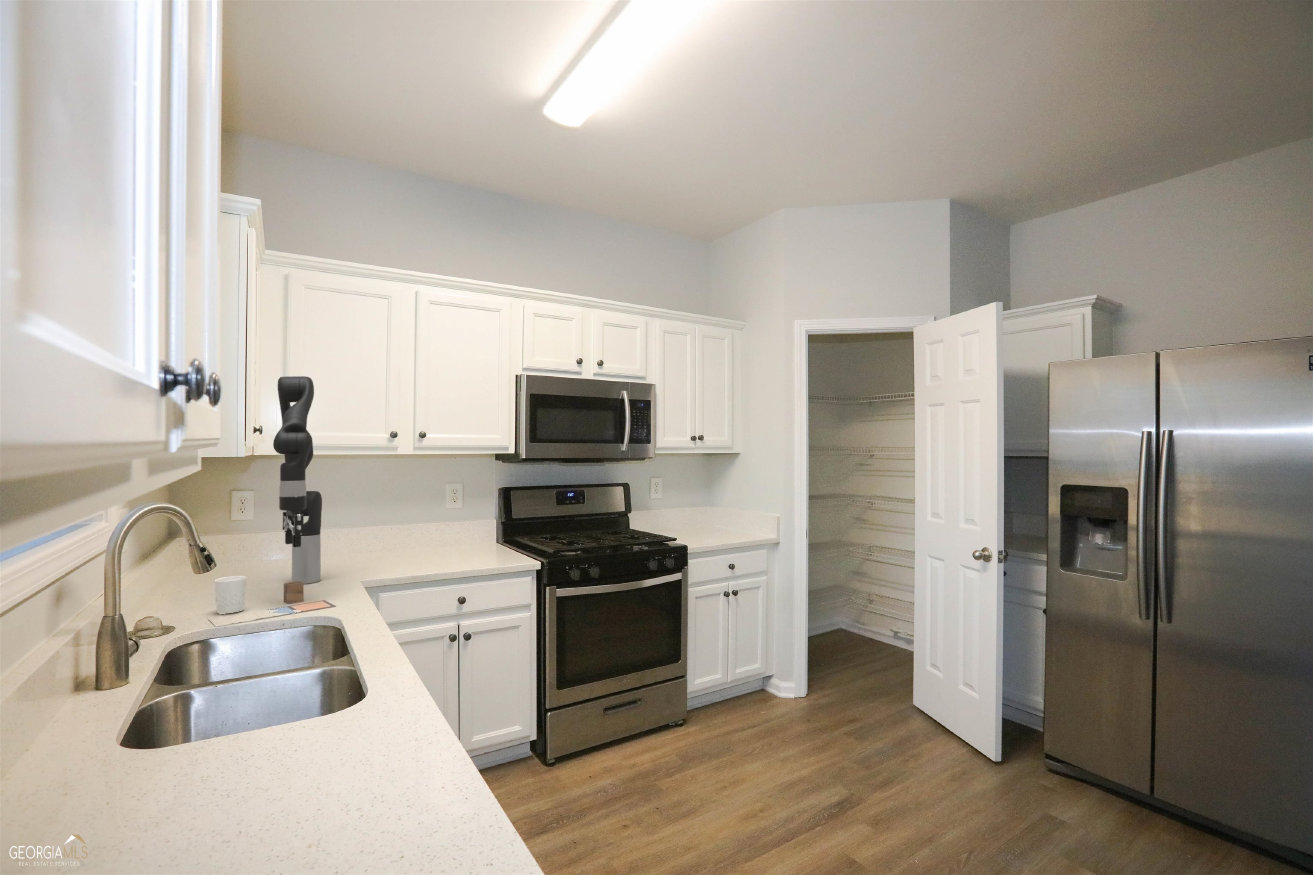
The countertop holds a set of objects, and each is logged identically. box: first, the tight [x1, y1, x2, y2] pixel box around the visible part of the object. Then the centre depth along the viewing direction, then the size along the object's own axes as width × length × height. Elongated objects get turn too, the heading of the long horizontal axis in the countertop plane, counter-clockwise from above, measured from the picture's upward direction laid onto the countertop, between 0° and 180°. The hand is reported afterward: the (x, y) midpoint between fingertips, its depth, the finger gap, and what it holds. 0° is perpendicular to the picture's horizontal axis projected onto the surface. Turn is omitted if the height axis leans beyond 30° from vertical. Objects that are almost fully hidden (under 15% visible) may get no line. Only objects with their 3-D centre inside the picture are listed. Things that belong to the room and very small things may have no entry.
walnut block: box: [283, 581, 305, 605], centre depth 202 cm, size 4×4×6 cm
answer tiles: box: [267, 599, 337, 614], centre depth 188 cm, size 11×31×1 cm, turn 134°
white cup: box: [214, 575, 247, 614], centre depth 190 cm, size 8×8×10 cm
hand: (293, 545), depth 202 cm, fingers open, 8 cm apart
